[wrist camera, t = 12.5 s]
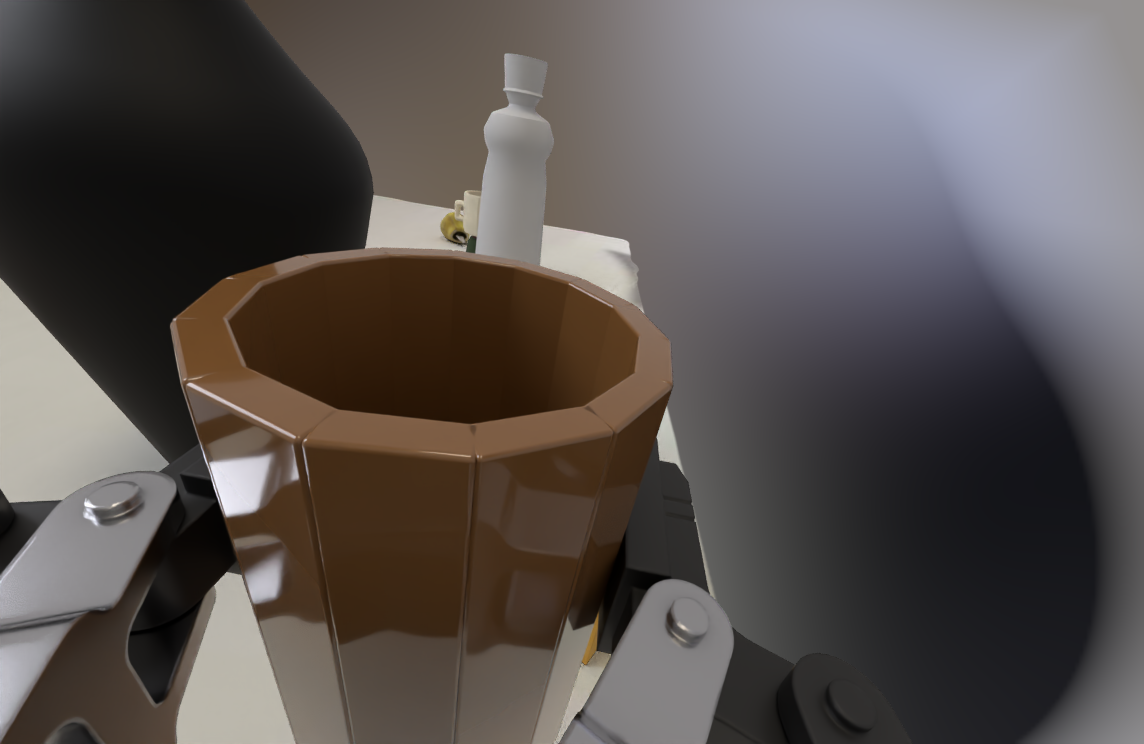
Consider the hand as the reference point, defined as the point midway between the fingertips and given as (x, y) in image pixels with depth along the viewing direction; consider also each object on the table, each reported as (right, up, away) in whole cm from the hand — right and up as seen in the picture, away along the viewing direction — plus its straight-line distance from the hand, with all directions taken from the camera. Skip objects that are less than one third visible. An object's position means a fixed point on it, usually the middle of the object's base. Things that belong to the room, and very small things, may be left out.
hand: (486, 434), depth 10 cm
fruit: (-22, +29, +81) cm, 89 cm away
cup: (-1, -6, +1) cm, 6 cm away
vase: (-21, -5, +22) cm, 31 cm away
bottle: (-8, +8, +50) cm, 51 cm away
